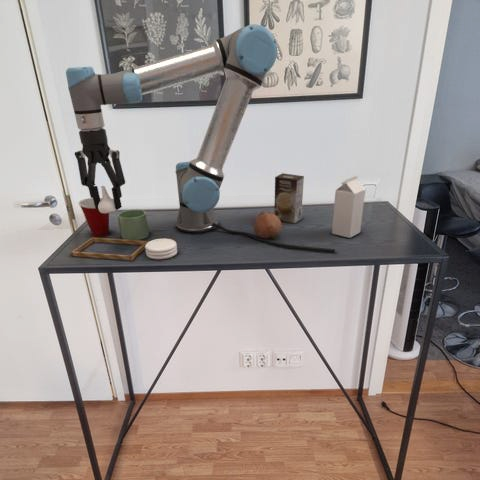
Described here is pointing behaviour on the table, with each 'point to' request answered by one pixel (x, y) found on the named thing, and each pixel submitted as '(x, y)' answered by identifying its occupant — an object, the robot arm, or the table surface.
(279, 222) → the onion
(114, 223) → the table surface
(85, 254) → the frame
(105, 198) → the garlic bulb
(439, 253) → the table surface
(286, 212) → the coffee box
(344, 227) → the milk carton
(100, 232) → the plastic cup
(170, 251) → the coaster
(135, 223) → the cup
